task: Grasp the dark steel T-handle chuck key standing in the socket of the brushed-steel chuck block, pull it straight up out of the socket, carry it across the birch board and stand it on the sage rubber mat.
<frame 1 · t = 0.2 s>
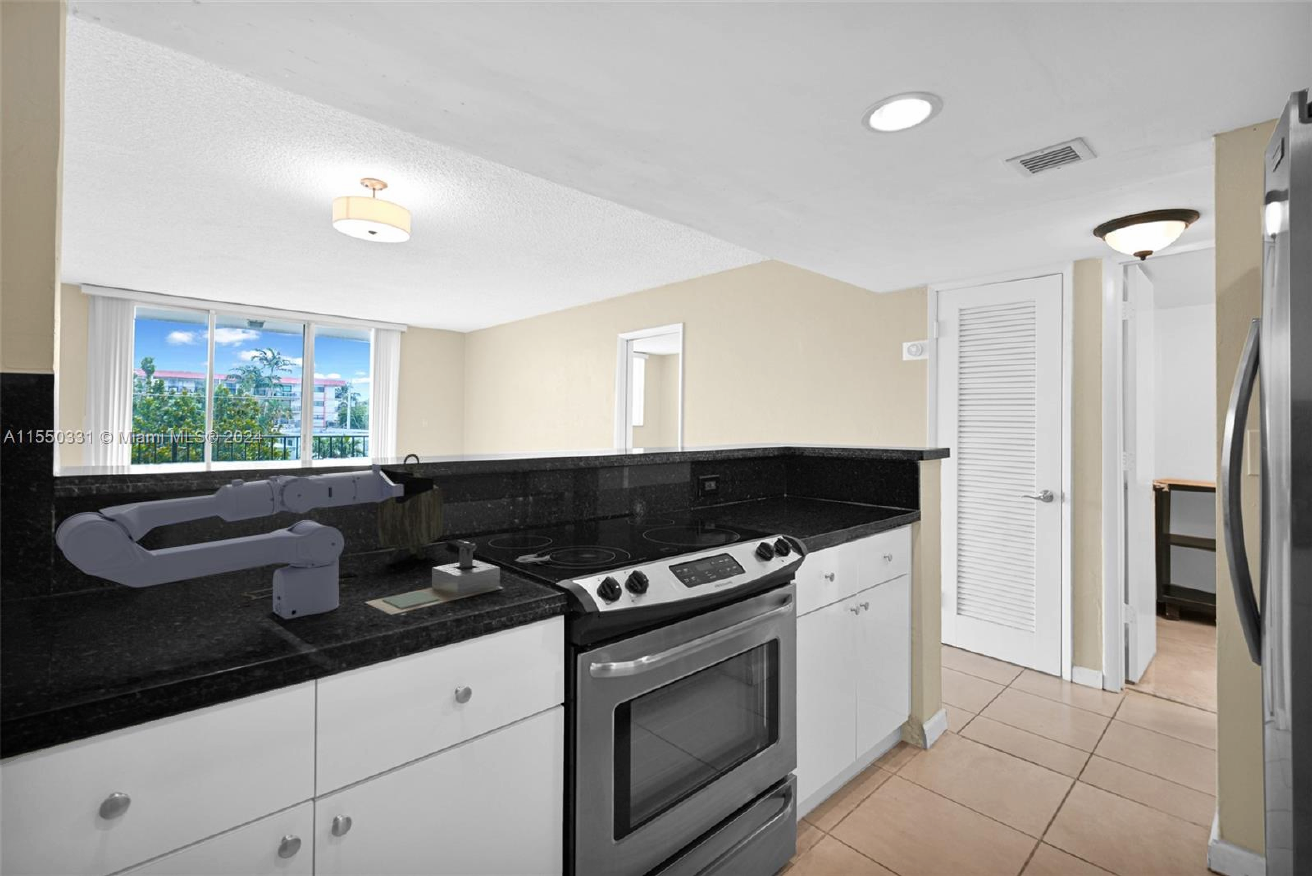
hand: (422, 480, 119), 22 cm above the worktop, tool horizontal, fingers open, 7 cm apart
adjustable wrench: (500, 571, 138), on the worktop
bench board: (437, 601, 114), on the worktop
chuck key: (466, 580, 118), point 3 cm above the worktop, touching chuck block
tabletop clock: (413, 560, 146), on the worktop
hacksaw: (301, 592, 121), on the worktop
chuck block: (466, 588, 118), resting on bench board
mat: (411, 600, 110), resting on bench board
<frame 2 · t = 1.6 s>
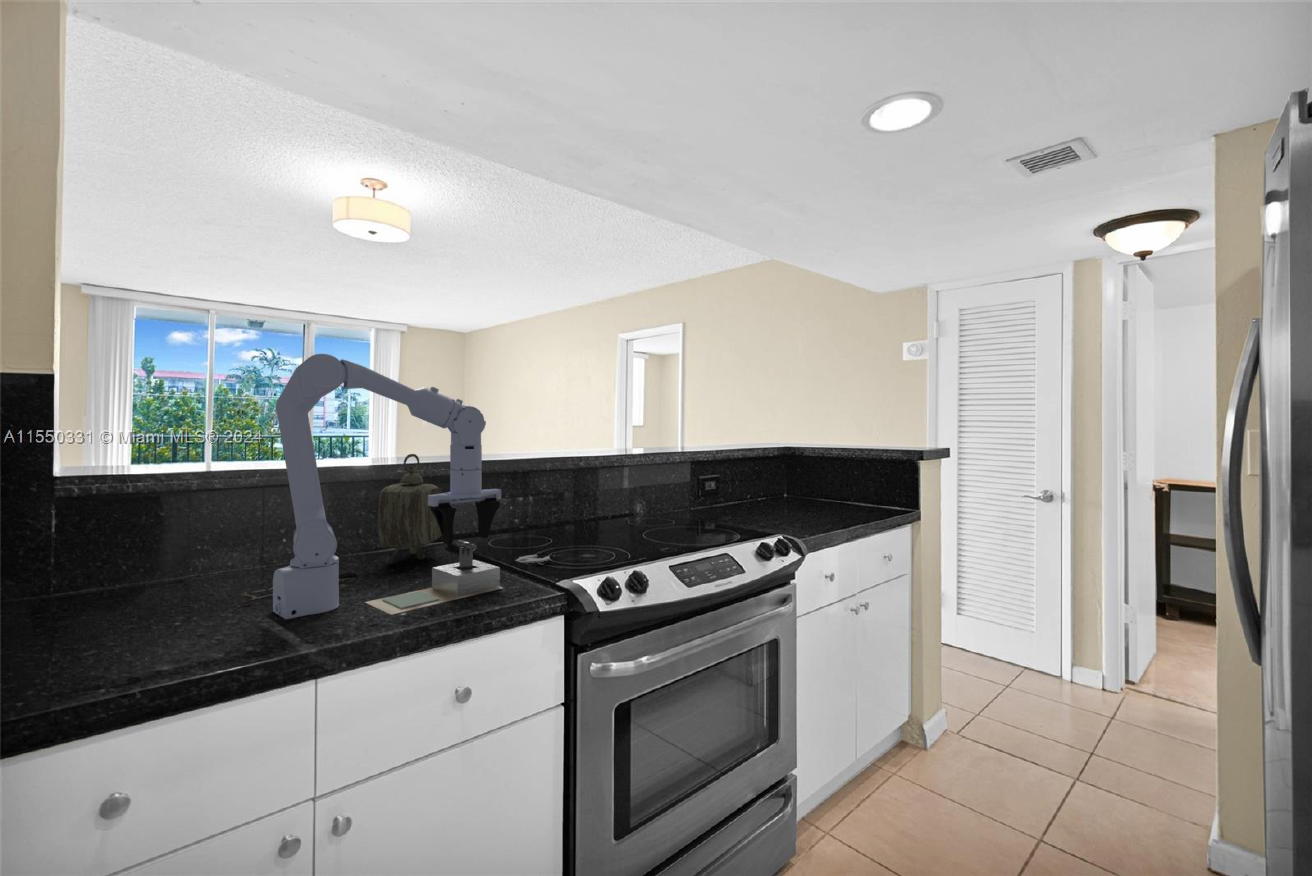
hand: (466, 540, 118), 10 cm above the worktop, tool pointing down, fingers open, 7 cm apart
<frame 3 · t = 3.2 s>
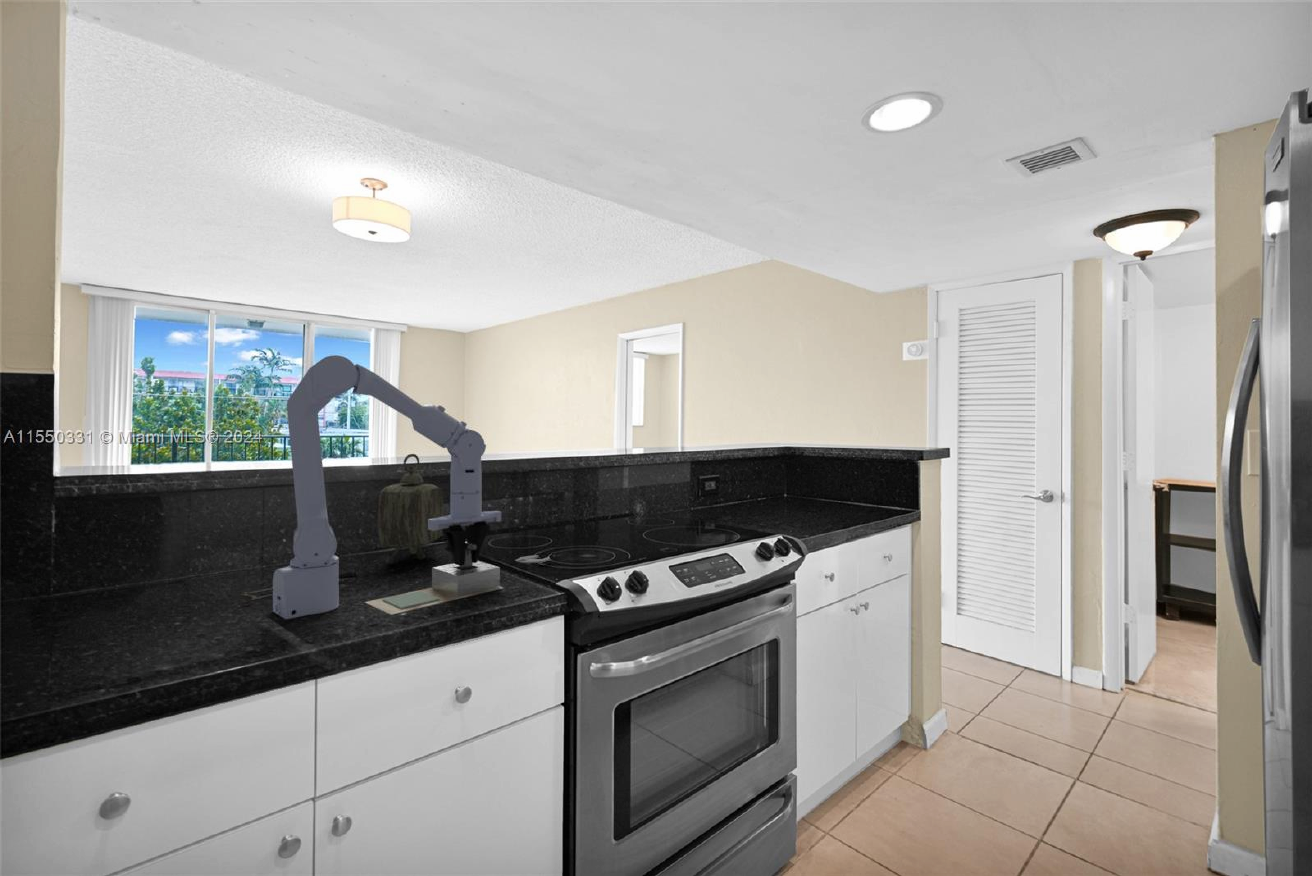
hand: (466, 563, 118), 6 cm above the worktop, tool pointing down, fingers closed on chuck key, 2 cm apart
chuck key: (466, 580, 118), point 3 cm above the worktop, touching chuck block, gripper
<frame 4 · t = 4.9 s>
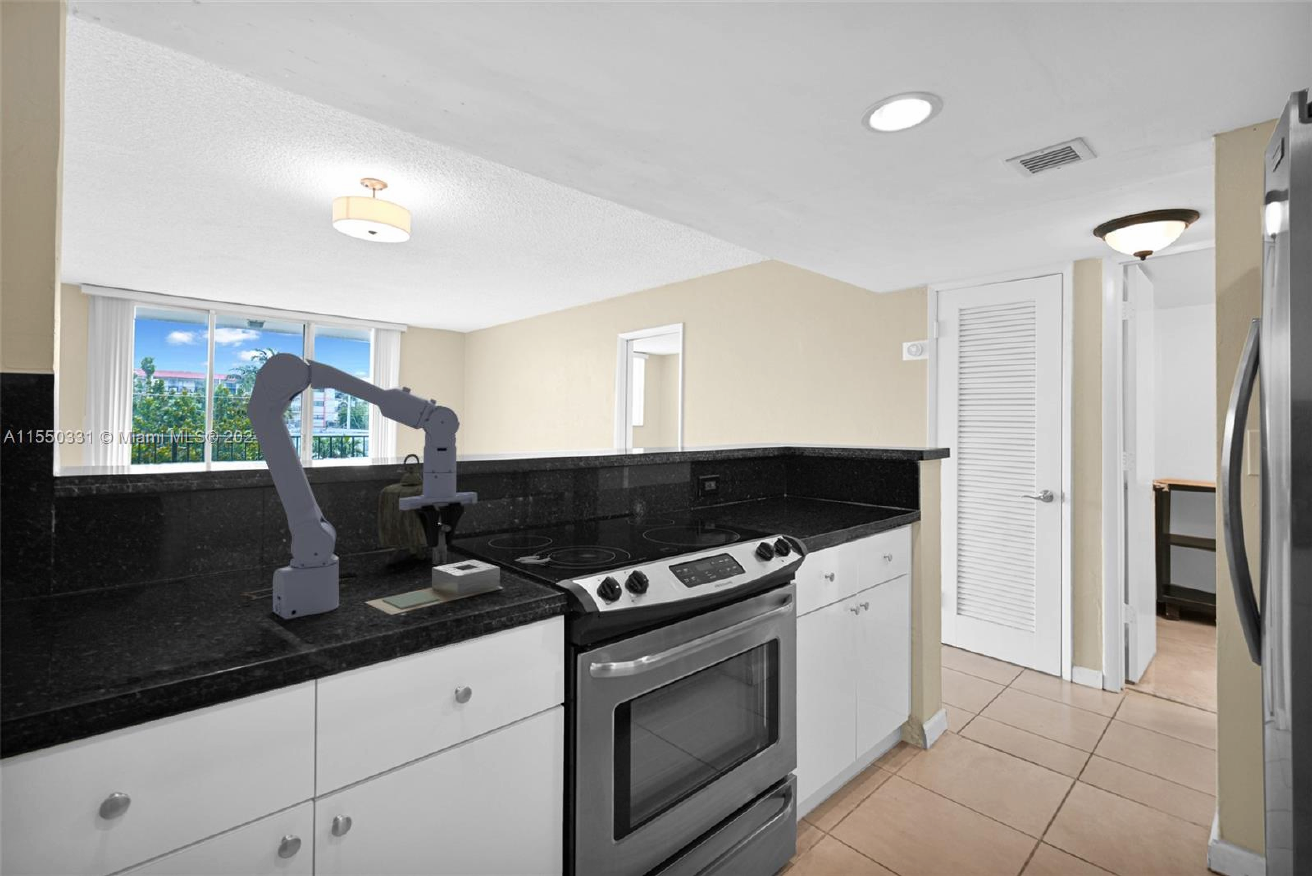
hand: (439, 545, 114), 10 cm above the worktop, tool pointing down, fingers closed on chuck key, 2 cm apart
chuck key: (439, 563, 114), point 7 cm above the worktop, touching gripper
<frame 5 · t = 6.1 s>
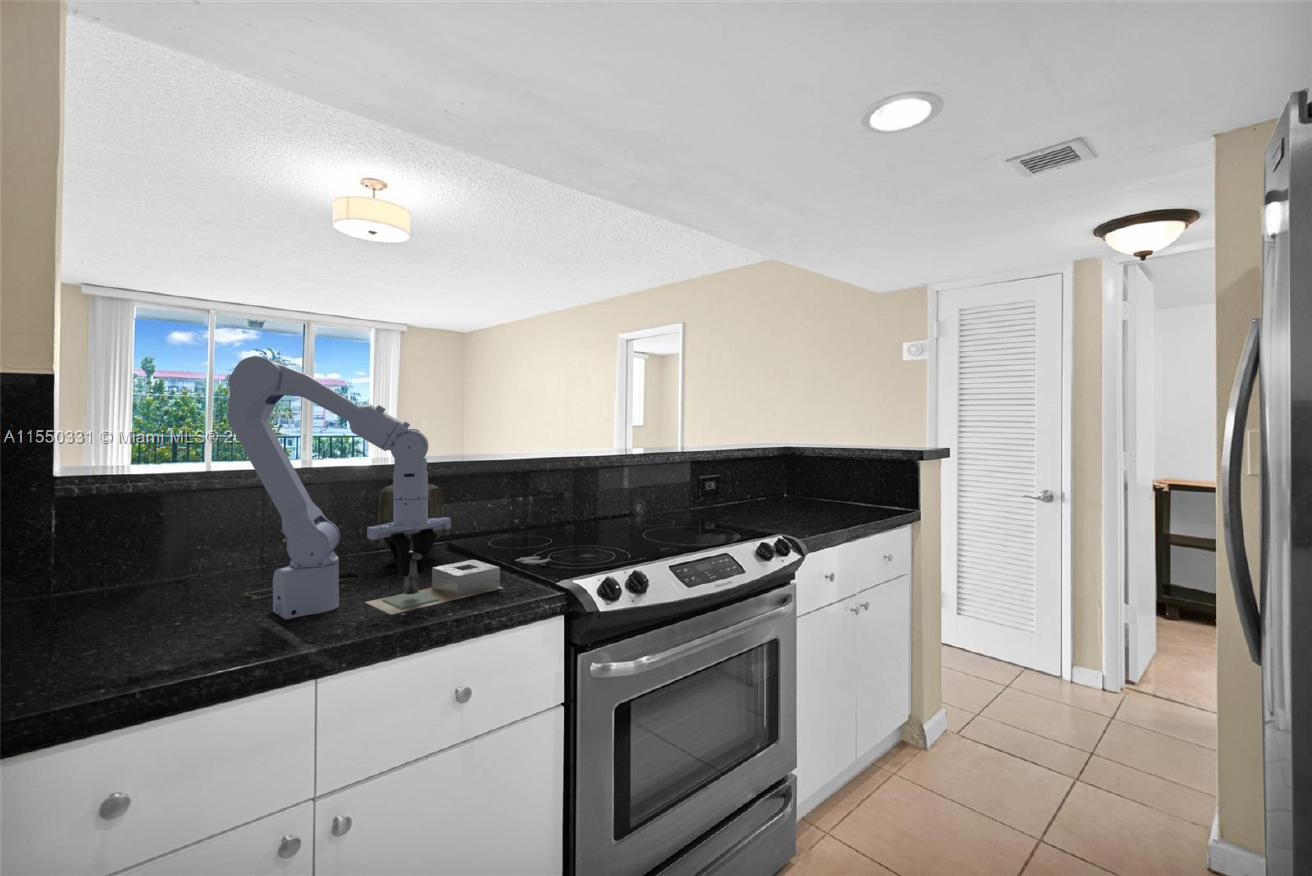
hand: (411, 574, 110), 6 cm above the worktop, tool pointing down, fingers closed on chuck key, 2 cm apart
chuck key: (411, 592, 110), point 3 cm above the worktop, touching gripper
when the fingers open (6 cm above the worktop, at t = 6.8 s): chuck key drops 1 cm, resting on mat.
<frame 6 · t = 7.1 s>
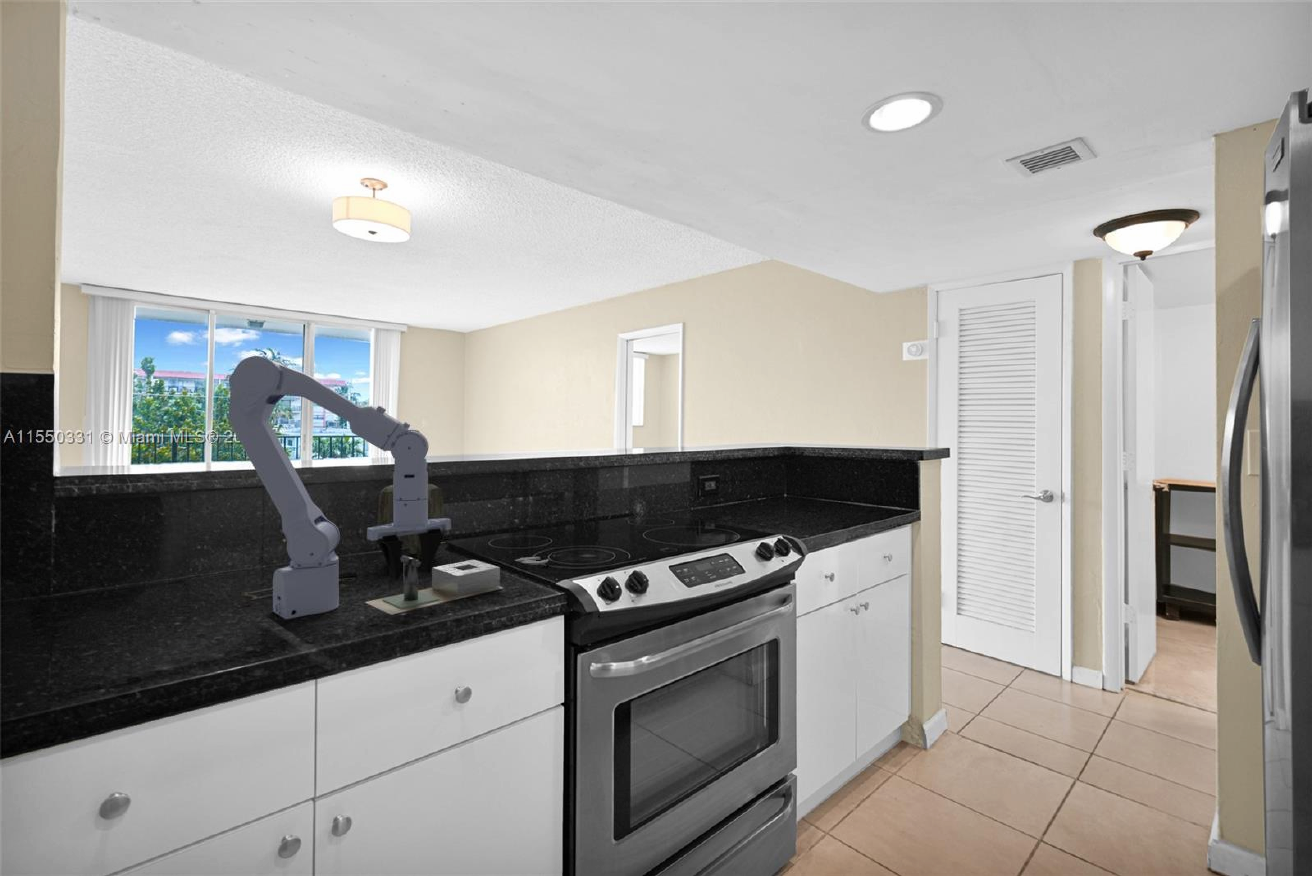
hand: (410, 574, 110), 6 cm above the worktop, tool pointing down, fingers open, 5 cm apart
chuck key: (411, 598, 110), point 2 cm above the worktop, touching mat
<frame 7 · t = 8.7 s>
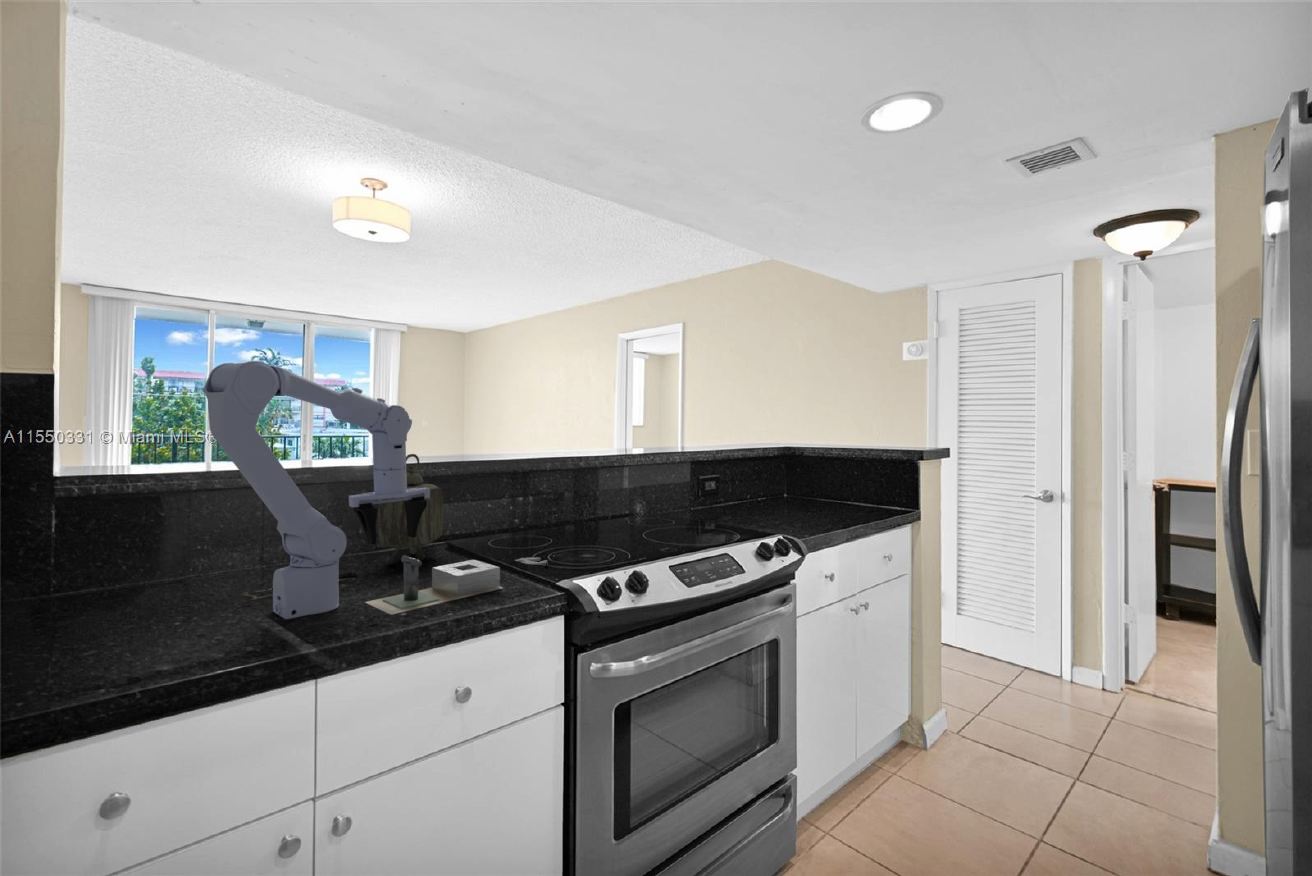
hand: (392, 540, 117), 10 cm above the worktop, tool pointing down, fingers open, 7 cm apart
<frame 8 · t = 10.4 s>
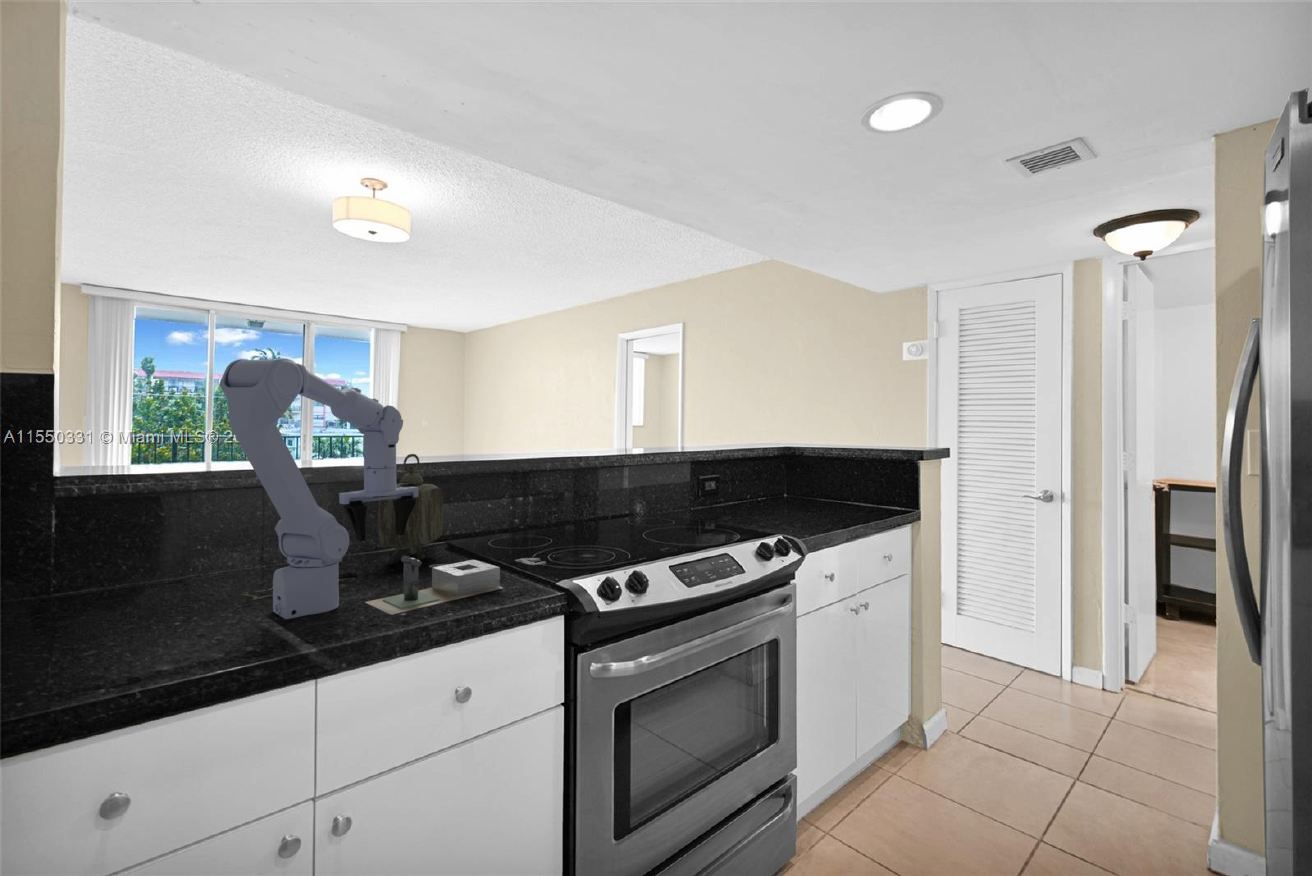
hand: (380, 537, 120), 10 cm above the worktop, tool pointing down, fingers open, 7 cm apart
at the end: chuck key 0.0 cm off-centre on the mat, point 0.3 cm above the mat's base; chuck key touching mat; the gripper is holding nothing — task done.
